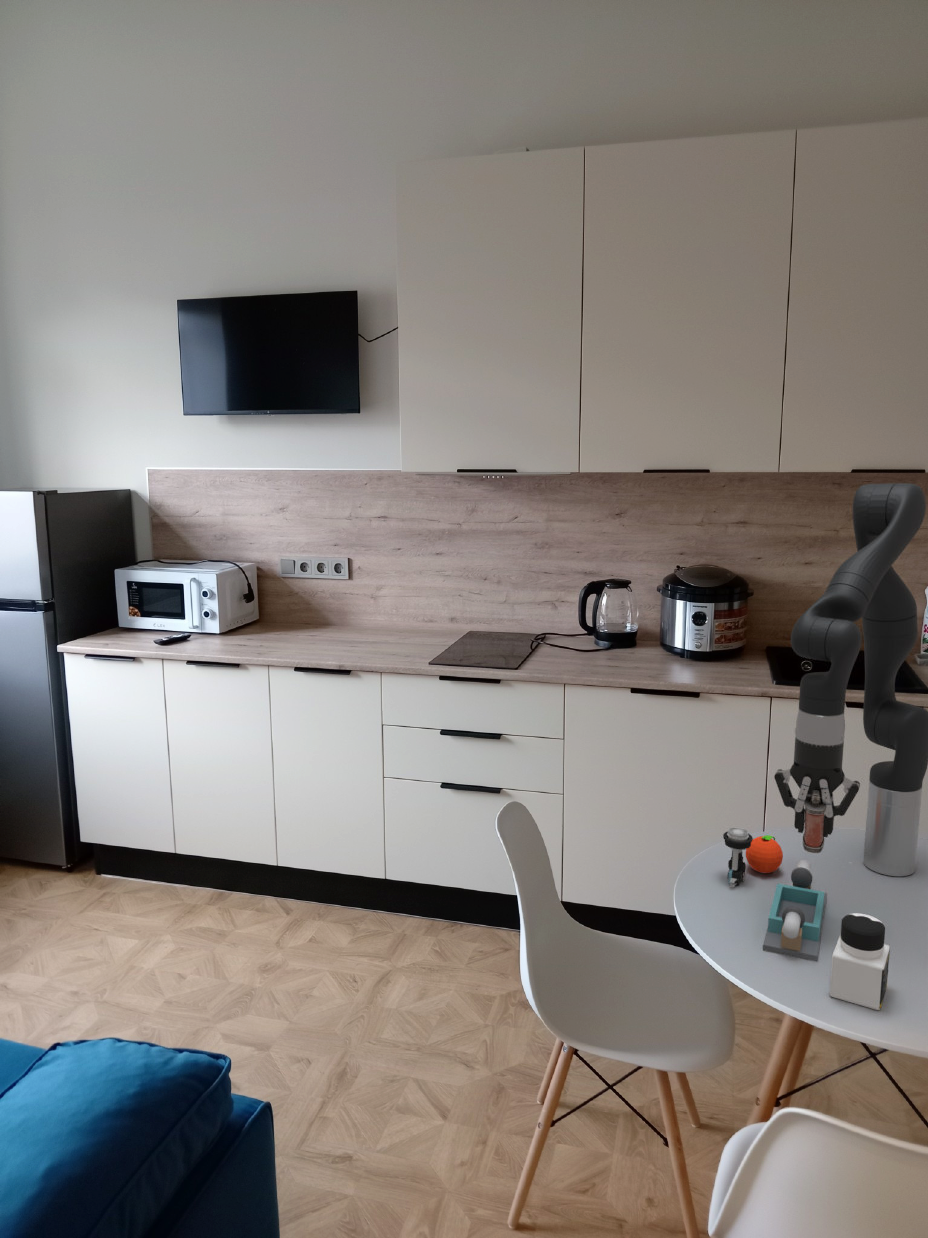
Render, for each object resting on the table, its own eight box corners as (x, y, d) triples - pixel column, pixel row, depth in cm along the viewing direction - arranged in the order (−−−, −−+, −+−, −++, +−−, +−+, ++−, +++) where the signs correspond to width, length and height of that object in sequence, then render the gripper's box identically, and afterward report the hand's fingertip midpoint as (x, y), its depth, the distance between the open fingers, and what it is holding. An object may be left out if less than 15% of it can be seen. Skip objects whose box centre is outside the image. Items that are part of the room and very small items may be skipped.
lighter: (803, 832, 156) (806, 777, 154) (824, 835, 155) (827, 780, 153) (801, 851, 149) (804, 794, 147) (823, 854, 148) (826, 797, 146)
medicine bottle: (880, 1012, 132) (886, 938, 130) (828, 997, 136) (833, 925, 134) (887, 987, 138) (892, 915, 136) (837, 973, 142) (842, 903, 140)
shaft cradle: (778, 886, 169) (780, 853, 168) (826, 895, 166) (829, 861, 164) (761, 954, 148) (763, 916, 146) (816, 965, 144) (819, 927, 143)
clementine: (757, 857, 181) (759, 824, 179) (790, 868, 176) (792, 834, 175) (738, 871, 175) (739, 838, 174) (772, 883, 171) (773, 848, 169)
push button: (745, 892, 167) (747, 843, 165) (716, 886, 170) (718, 837, 168) (753, 877, 173) (755, 829, 171) (725, 871, 176) (727, 823, 174)
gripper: (868, 735, 149) (860, 833, 152) (778, 724, 155) (773, 817, 158) (863, 749, 142) (856, 850, 145) (771, 736, 149) (765, 833, 152)
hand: (813, 832), depth 152 cm, fingers closed on lighter, 3 cm apart
